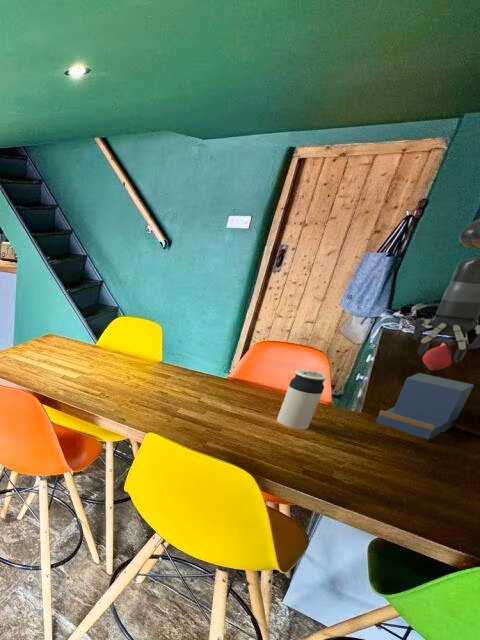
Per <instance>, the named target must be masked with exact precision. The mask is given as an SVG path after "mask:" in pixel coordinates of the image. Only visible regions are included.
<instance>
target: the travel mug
mask: <svg viewBox="0 0 480 640" xmlns="http://www.w3.org/2000/svg"><path fill="white" fill-rule="evenodd" d="M294 373H295V376H294V377H293V378H292V379H291V380H290V382H289V385H288V387H287V390H286V392H285V395H284V398H283V401H282V404H281V407H280V410H279V412H278V416H277V418H276V422H278V423H279V424H281V425H282V426H284V427H288V428H291V429H295V430H307V429H309V427H310V424H311V422H312V419H313V416H314V415H315V411H316V410H317V407H318V404H319V401H320V399H321V397H322V395H323V392H324V389H325V385H324V382H325V380H327V379H328V376H327V375H325V374H323V373H321V372H317V371H314V370H308V369H297V370H295V371H294Z"/></svg>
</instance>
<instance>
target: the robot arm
mask: <svg viewBox="0 0 480 640" xmlns="http://www.w3.org/2000/svg"><path fill="white" fill-rule="evenodd" d="M459 242H460V243H461V245H463V246H464V247H467V248H471V249H472V248H473V249H480V218H478V219H476V220H474V221H472V222H470V223H469V224H467V225H466V226H465V227H464V228H463V229H462V230H461V232H460V234H459ZM479 316H480V254H479V255H478V256H475V257H468V258H467V257H466V258H464V259H462V260H460V261H459V262H458V264H457V266H456V268H455V270H454V273H453V274H452V277H451V280H450V282H449V284H448V286H447V287H446V289H445V291H444V293H443V294H442V298H441V301H440V303H439V306H438V308H437V310H436V312H435V314H434V316H433V317H432V318H423V317H422V318H418V319H416V320H415V325H414V330H413V335H412V339H413V340H414V341H418V342H419V346H418V349H417V352H416V353H417V354H418V356H419V357H423V355H424V354H425V353H426V352H427V351H428V350H429V347H430V345H431V343H430V342H431V341H432V340H433V339H434V338H436V337H437V336H447V337H449V338H455V341H456V342H457V345H458V348H457V349H456V350H455V353H454V357H453V360H452V363H458V362H460V361H462V360H463V359H464V357H465V354H467V351H468V350H476V349H478V348H480V325H479V324H478V322H477V320H478V318H479ZM429 324H430V325H431V327H432V329H433V330H431V331H430V332H429V333H428V334H427V335H426V336H423V335H424V330H425V327H427V326H428V325H429ZM473 330H475V334H476V335H477V336H476V337H475V339H474V340H473V342H472V343H469V341H468V333H469V332H471V331H473Z"/></svg>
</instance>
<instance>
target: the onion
mask: <svg viewBox="0 0 480 640" xmlns="http://www.w3.org/2000/svg"><path fill="white" fill-rule="evenodd" d="M454 355H455V353H454V352H453V350H452V349H451V348H449V347H448V346H447V343H444V342H442V343H440V345H439V346H435V347H432V348H430V349H427V352H426V353H425V354H424V355H423V356H422V357H421V359H422V362H423V363H424V365H425V366H426V367H427V369H428V370H430V371H431V372H432V371H437V370H438V371H439V370H443V369H445V368H448V367H450V366H451V365H452V364H453V362H452V360H453V357H454Z"/></svg>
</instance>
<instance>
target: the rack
mask: <svg viewBox="0 0 480 640" xmlns="http://www.w3.org/2000/svg"><path fill="white" fill-rule="evenodd" d="M474 386H475V384H473V383H467V382H463V381H459V380H453V379H450V378H444V377H440V376H436V375H435V376H434V375H430V374H426V373H421V372H418V373H416V374H413V375H411V376H408V377H406V379H405V381H404V383H403V386H402V388H401V390H400V393H399V396H398V398H397V400H396V402H395V405H394V406H393V407H391V408H389V409H387V410H383V409H380V410H379V412H378V415H377V416H376V419H375V422H378V423H381V424H383V425H387V426H390V427H393V428H396V429H398V430H401V431H403V432H407V433H409V434H411V435H415V436H419V437H423V438H426V439H430V438H431V437H433V436H434V435H436V434H437V433H440V432H443V433H444V432H446V431H448V430H450V429H451V428H453V427H454V426H455V424H456V422H454V421H456V420H458V418H459V416H460V415H461V413H462V410H463V408H464V406H465V404H466V402H467V400H468V399H469V397H470V394H471V393H472V390H473V388H474Z"/></svg>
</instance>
